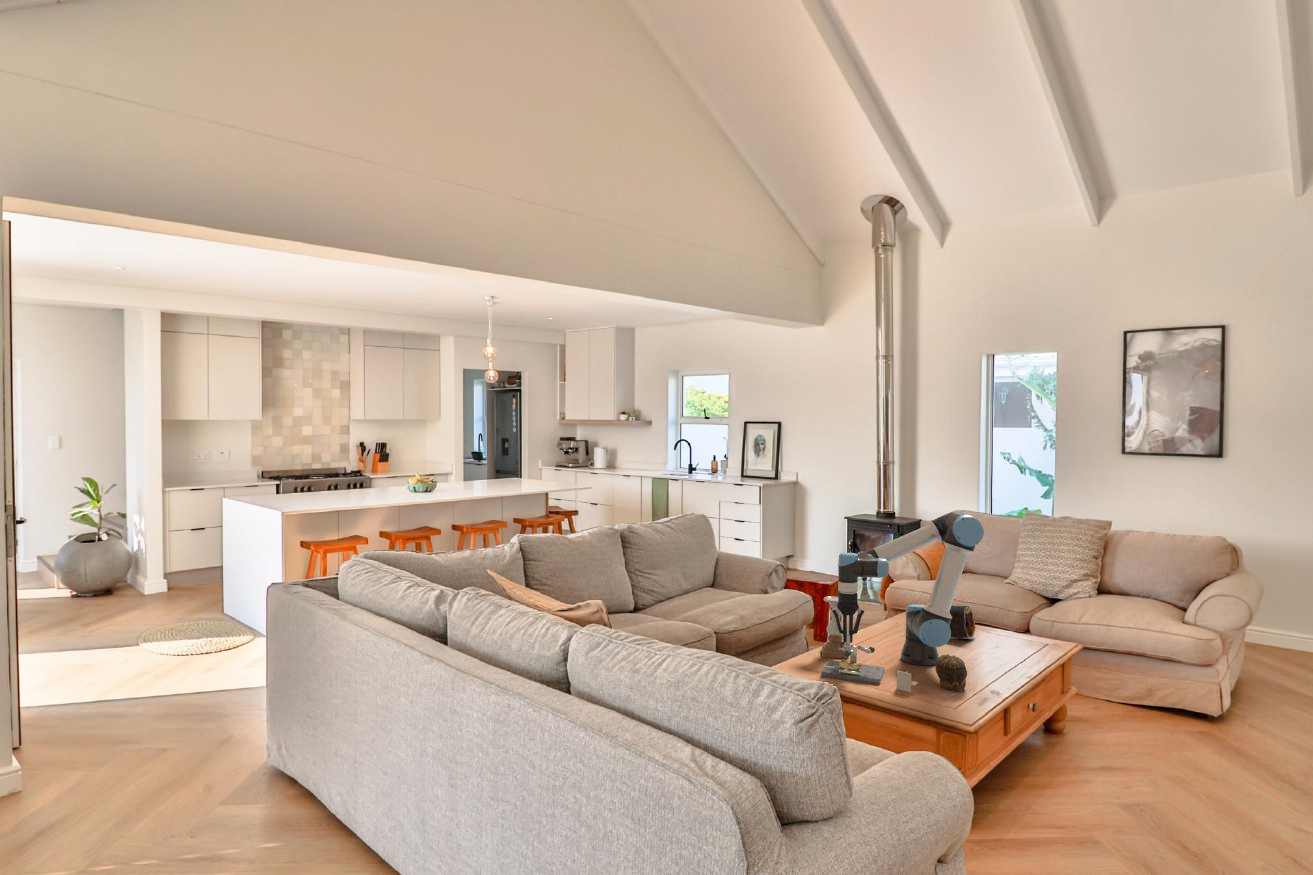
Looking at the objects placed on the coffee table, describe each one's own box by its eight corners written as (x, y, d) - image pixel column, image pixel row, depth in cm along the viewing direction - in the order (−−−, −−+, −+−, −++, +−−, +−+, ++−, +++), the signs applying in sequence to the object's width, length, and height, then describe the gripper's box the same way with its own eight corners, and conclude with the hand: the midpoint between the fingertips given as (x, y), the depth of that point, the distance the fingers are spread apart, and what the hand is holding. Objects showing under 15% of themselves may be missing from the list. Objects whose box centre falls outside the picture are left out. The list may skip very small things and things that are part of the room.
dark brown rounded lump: (930, 683, 298) (931, 651, 298) (958, 682, 299) (958, 651, 299) (943, 693, 287) (943, 660, 287) (972, 692, 288) (972, 660, 288)
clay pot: (918, 602, 379) (971, 600, 364) (925, 633, 379) (978, 632, 364) (908, 612, 367) (962, 610, 352) (915, 644, 367) (970, 644, 352)
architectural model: (900, 687, 294) (900, 668, 294) (918, 692, 289) (918, 672, 289) (896, 690, 292) (896, 670, 291) (914, 694, 287) (914, 674, 287)
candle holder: (848, 658, 328) (849, 602, 327) (822, 657, 330) (822, 600, 329) (847, 651, 338) (848, 596, 338) (821, 649, 340) (822, 595, 340)
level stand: (884, 671, 311) (884, 661, 311) (879, 684, 296) (880, 673, 296) (828, 664, 319) (828, 655, 319) (821, 676, 304) (821, 666, 304)
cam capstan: (853, 660, 318) (854, 638, 318) (877, 670, 306) (878, 647, 305) (825, 665, 312) (825, 642, 312) (848, 675, 299) (848, 652, 299)
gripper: (862, 590, 317) (862, 648, 317) (830, 589, 318) (830, 647, 318) (865, 594, 309) (865, 653, 309) (833, 593, 310) (832, 652, 310)
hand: (847, 650), depth 314 cm, fingers closed
